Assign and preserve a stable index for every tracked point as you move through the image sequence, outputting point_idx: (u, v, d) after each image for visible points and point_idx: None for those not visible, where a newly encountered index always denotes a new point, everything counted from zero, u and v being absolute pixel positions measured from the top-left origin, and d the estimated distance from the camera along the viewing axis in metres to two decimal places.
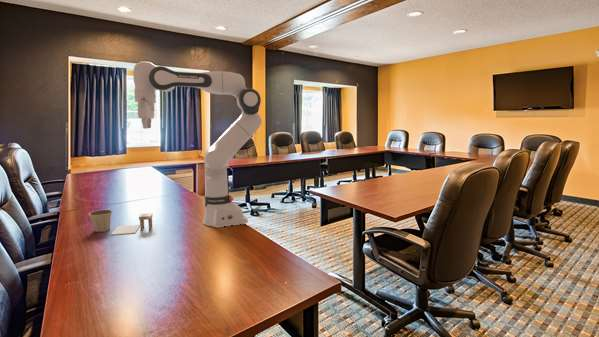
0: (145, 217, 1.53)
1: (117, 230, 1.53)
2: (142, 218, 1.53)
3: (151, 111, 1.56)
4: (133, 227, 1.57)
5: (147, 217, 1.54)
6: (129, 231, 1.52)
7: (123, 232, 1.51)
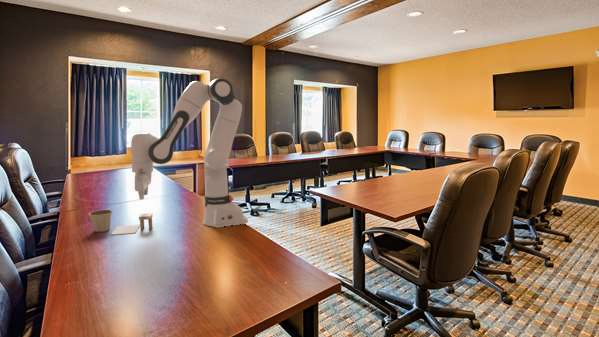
0: (145, 217, 1.53)
1: (117, 230, 1.53)
2: (142, 218, 1.53)
3: (148, 179, 1.57)
4: (133, 227, 1.57)
5: (147, 217, 1.54)
6: (129, 231, 1.52)
7: (123, 232, 1.51)
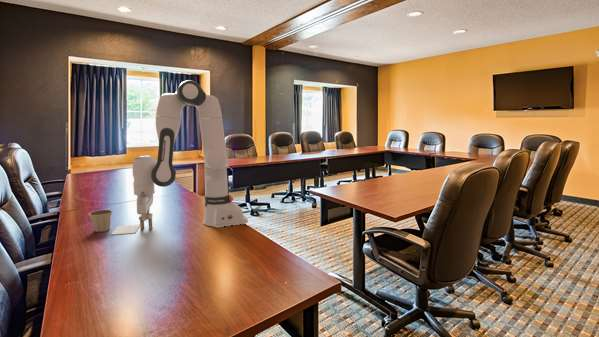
0: None
1: (117, 230, 1.53)
2: None
3: (150, 200, 1.58)
4: (133, 227, 1.57)
5: (147, 217, 1.54)
6: (129, 231, 1.52)
7: (123, 232, 1.51)
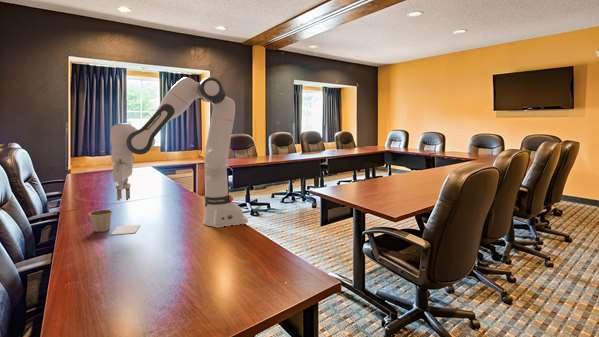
0: None
1: (117, 230, 1.53)
2: None
3: (128, 170, 1.55)
4: (133, 227, 1.57)
5: (124, 186, 1.50)
6: (129, 231, 1.52)
7: (123, 232, 1.51)
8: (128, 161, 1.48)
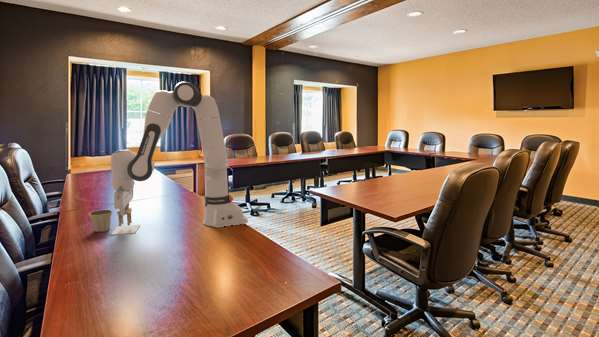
0: None
1: (117, 230, 1.53)
2: (120, 213, 1.51)
3: (129, 195, 1.57)
4: (133, 227, 1.57)
5: None
6: (129, 231, 1.52)
7: (123, 232, 1.51)
8: (129, 187, 1.50)
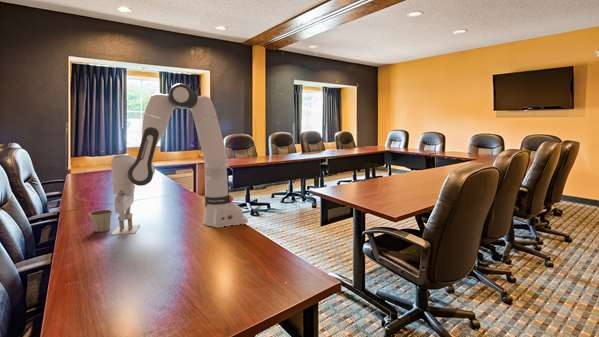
0: None
1: (117, 230, 1.53)
2: None
3: (130, 199, 1.57)
4: (133, 227, 1.57)
5: (126, 217, 1.52)
6: (129, 231, 1.52)
7: (123, 232, 1.51)
8: (129, 191, 1.50)
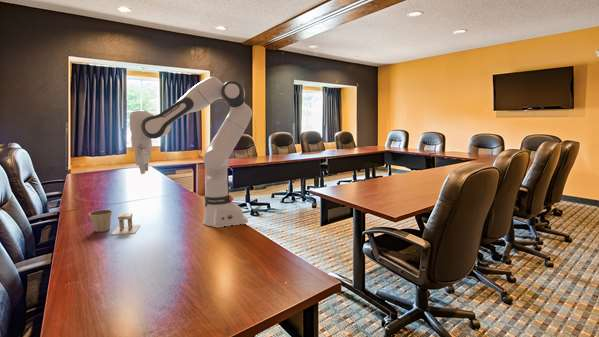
0: (124, 217, 1.52)
1: (117, 230, 1.53)
2: (121, 218, 1.52)
3: (148, 155, 1.63)
4: (133, 227, 1.57)
5: (126, 217, 1.52)
6: (129, 231, 1.52)
7: (123, 232, 1.51)
8: (148, 146, 1.57)
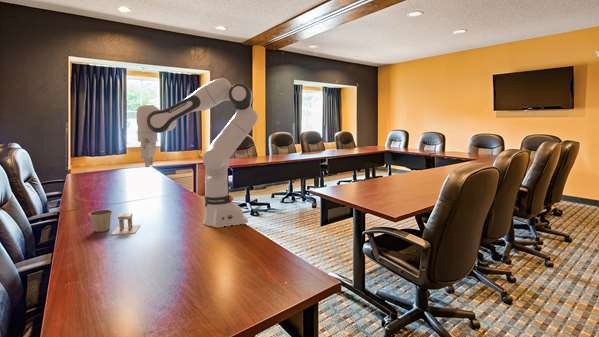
0: (124, 217, 1.52)
1: (117, 230, 1.53)
2: (121, 218, 1.52)
3: (153, 149, 1.66)
4: (133, 227, 1.57)
5: (126, 217, 1.52)
6: (129, 231, 1.52)
7: (123, 232, 1.51)
8: (153, 140, 1.59)
